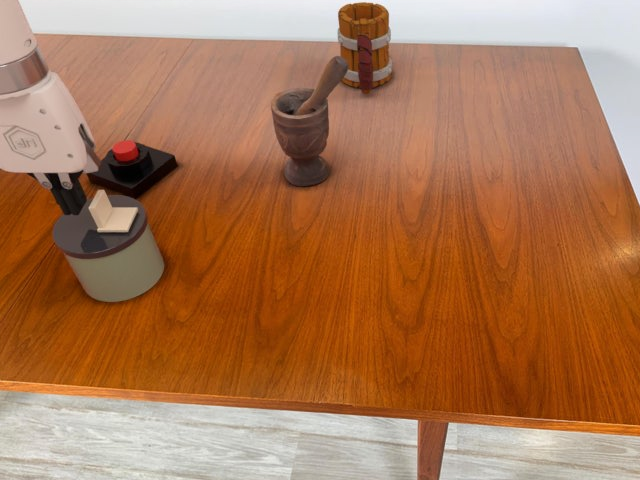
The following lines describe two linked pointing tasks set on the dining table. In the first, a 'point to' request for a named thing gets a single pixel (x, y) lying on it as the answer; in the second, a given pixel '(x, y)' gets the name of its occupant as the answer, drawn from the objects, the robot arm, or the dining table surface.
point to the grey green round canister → (110, 253)
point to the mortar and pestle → (306, 125)
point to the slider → (111, 214)
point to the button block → (133, 171)
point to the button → (125, 150)
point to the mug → (365, 44)
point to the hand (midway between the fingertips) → (76, 207)
